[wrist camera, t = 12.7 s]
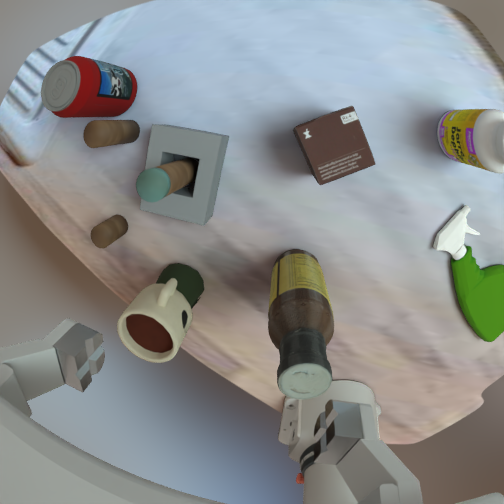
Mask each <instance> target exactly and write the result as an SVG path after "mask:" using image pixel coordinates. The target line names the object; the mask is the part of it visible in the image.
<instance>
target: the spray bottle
mask: <svg viewBox="0 0 504 504" xmlns="http://www.w3.org/2000/svg"><path fill="white" fill-rule="evenodd" d="M469 212H470V208H469V207H468V206H467V205H465V206H464V207H463V208H462V209H461V210H458V212H457V213H456V214H455V215H454V216H453V217H452V218H451V219H450V221H449V222H448V223H447V224H446V225H445V226H444V227H443V228H442V229H441V230H440V231H439V232H438V233H437V236H436V239H435V242H434V245H433V247H434V248H435V249H436V250H437V251H438V250H445V251H448V252H449V253H450V254H451V255H452V257H453V258H452V260H451V266H452V271H453V277H454V284H455V289H456V293H457V297H458V301H459V304H460V306H461V309H462V311H463V313H464V315H465V317H466V319H467V321H468V322H469V324H470V325H471V327H472V328H473V329H474V331H475V332H476V334H477V335H478V336H479V337H480V338H481V339H483V340H484V341H487V342H492V341H494V340H495V339H496V338H497V337H498V336H499V335H500V334H501V333H502V332H503V331H504V265H495V266H490V267H487V268H485V269H482V270H480V268H479V266H478V265H477V264H476V259H475V258H474V257H472V249H471V247H470V246H464V237H465V233H470V234H474V235H480V233H479V232H477V231H475V230H474V229H472V228H470V227H469V226H468V225H467V224H466V223H467V219H466V216H467V214H468V213H469Z"/></svg>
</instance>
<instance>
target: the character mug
mask: <svg viewBox="0 0 504 504" xmlns="http://www.w3.org/2000/svg"><path fill="white" fill-rule="evenodd" d="M203 290H204V284H203V280H202V278H201V276H200V275H199V273H198V272H197V271H196V270H194V269H193V268H191V267H189V266H187V265H183V264H179V263H178V264H171V265H169V266H168V267H166V268H165V269H164V270H163V271H162V273H161V275H160V276H159V278H158V280H157V282H156V284H151V285H149V286H147V287H146V288H144V289H143V290H142V291H141V292H140V293H139V294H138V295H137V297H136V298H135V299H134V300H133V301H132V302H131V304H130V305H129V306H128V307H127V309H126V310H125V311H124V312H123V314H122V315H121V317H120V319H119V320H118V322H117V330H118V334H119V336H120V339H121V341H122V343H123V344H124V345H125V346H126V347H127V348H128V350H129V351H130V352H132V353H133V354H134V355H136V356H137V357H139V358H141V359H144V360H147V361H149V362H156V363H162V362H166V361H170V360H171V359H172V358H173V357H174V356H175V355H176V353H177V351H178V349H179V347H180V345H181V343H182V341H183V339H184V337H185V335H186V333H187V331H188V329H189V327H190V325H191V322H192V317H193V313H192V310H191V309H192V308H193V306H194V305H195V304H196V303H197V301H198V300H199V299H200V298H199V296H200V295H201V294H202V292H203ZM198 298H199V299H198ZM197 299H198V300H197Z"/></svg>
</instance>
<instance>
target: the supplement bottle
mask: <svg viewBox="0 0 504 504" xmlns="http://www.w3.org/2000/svg"><path fill="white" fill-rule="evenodd" d="M437 136H438V141H439V144H440V147H441V149H442V150H443V152H444V153H445V154H446V155H447V156H448V157H449V158H451V159H452V160H455V161H458V162H461V163H465V164H468V165H472V166H475V167H478V168H482V169H485V170H488V171H491V172H494V173H504V112H502V111H499V110H496V109H469V110H452V111H449V112H447V113H445V114H444V115H443V116H442V118H441V119H440V121H439V124H438V129H437Z"/></svg>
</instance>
